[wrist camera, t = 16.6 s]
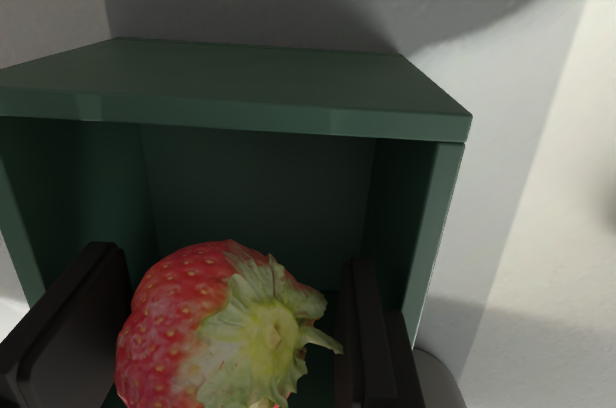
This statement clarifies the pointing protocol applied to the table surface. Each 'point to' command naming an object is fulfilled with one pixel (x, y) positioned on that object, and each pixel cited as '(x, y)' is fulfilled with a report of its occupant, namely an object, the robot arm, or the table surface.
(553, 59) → the table surface
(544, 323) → the table surface
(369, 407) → the robot arm
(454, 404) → the mug
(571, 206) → the table surface
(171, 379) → the fruit
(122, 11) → the table surface
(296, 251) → the bin
